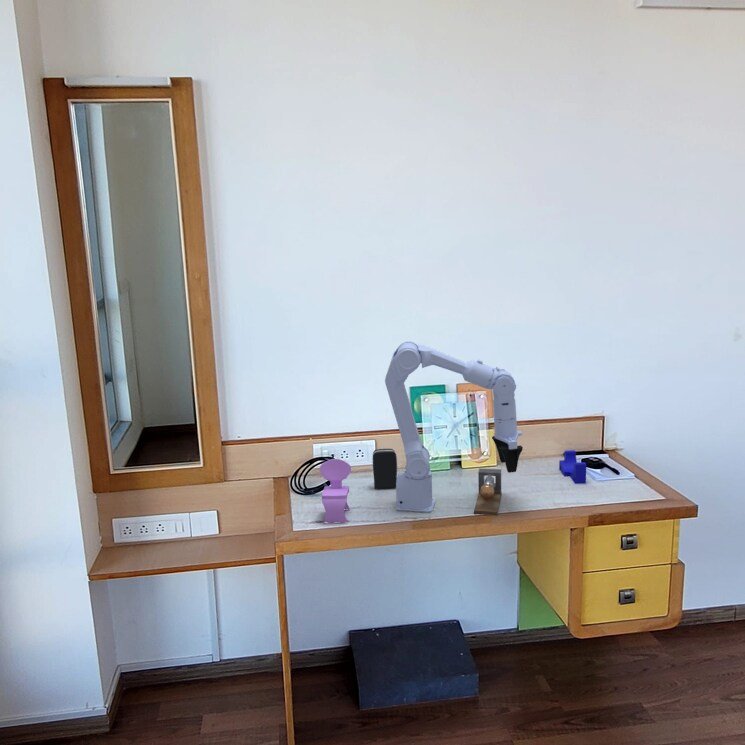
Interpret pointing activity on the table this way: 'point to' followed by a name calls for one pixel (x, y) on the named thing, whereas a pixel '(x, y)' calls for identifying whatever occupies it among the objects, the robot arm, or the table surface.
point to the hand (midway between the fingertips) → (508, 466)
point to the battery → (384, 468)
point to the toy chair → (335, 489)
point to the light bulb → (487, 488)
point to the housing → (490, 472)
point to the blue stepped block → (573, 467)
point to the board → (487, 505)
